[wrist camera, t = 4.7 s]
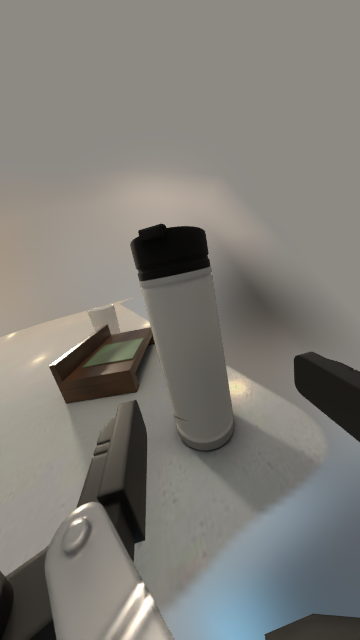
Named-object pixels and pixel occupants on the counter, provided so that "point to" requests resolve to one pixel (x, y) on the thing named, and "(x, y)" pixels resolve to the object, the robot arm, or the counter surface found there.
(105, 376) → the wooden coaster base
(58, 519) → the counter surface
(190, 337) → the travel mug
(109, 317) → the white cup
